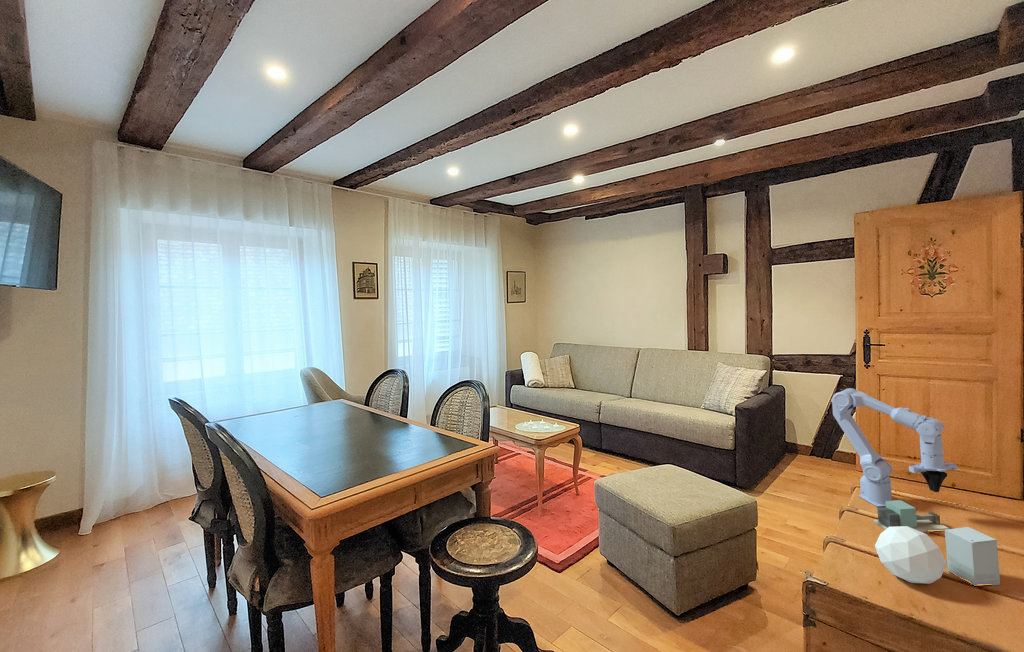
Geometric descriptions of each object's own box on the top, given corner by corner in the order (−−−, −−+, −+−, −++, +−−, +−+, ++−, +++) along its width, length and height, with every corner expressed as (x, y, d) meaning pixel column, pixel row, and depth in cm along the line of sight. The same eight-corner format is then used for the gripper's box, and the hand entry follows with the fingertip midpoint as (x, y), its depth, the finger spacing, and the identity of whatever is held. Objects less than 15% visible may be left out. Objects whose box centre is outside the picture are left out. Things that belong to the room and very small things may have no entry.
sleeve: (886, 519, 147) (885, 501, 147) (901, 518, 147) (900, 500, 147) (901, 528, 141) (900, 509, 141) (917, 527, 141) (915, 508, 141)
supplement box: (1001, 585, 114) (998, 539, 114) (974, 588, 114) (971, 542, 114) (971, 568, 121) (968, 526, 121) (946, 571, 121) (943, 528, 121)
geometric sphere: (922, 591, 121) (957, 552, 119) (922, 601, 111) (961, 558, 108) (866, 550, 131) (897, 513, 129) (861, 555, 121) (895, 515, 118)
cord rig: (873, 522, 149) (872, 506, 149) (927, 519, 148) (925, 502, 147) (892, 534, 141) (891, 517, 141) (949, 531, 140) (948, 513, 139)
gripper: (920, 458, 144) (923, 497, 144) (965, 455, 143) (967, 494, 144) (902, 451, 151) (905, 488, 152) (945, 448, 150) (947, 485, 151)
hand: (934, 490), depth 148 cm, fingers closed
